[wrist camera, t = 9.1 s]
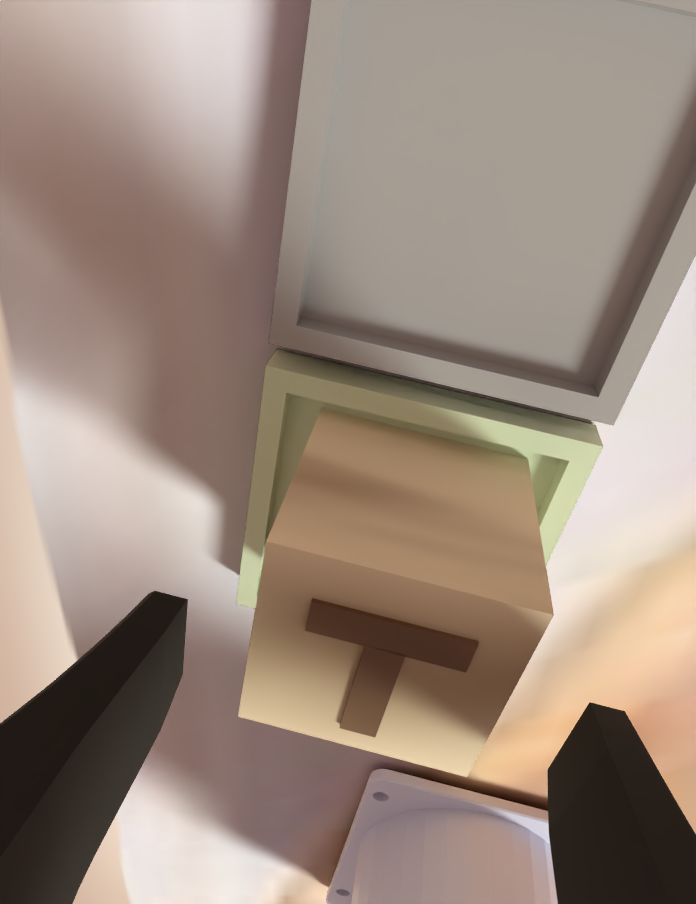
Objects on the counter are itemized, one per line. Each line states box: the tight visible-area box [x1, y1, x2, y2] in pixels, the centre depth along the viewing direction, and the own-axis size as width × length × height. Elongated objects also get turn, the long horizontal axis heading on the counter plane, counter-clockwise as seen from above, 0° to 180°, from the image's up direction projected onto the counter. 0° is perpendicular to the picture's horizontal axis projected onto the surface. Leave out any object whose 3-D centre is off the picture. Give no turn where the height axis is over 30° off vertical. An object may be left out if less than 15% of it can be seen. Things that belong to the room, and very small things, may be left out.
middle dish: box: [269, 0, 696, 425], centre depth 11 cm, size 7×7×1 cm
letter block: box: [238, 408, 554, 777], centre depth 13 cm, size 5×5×5 cm
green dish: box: [236, 349, 603, 609], centre depth 15 cm, size 7×7×1 cm
